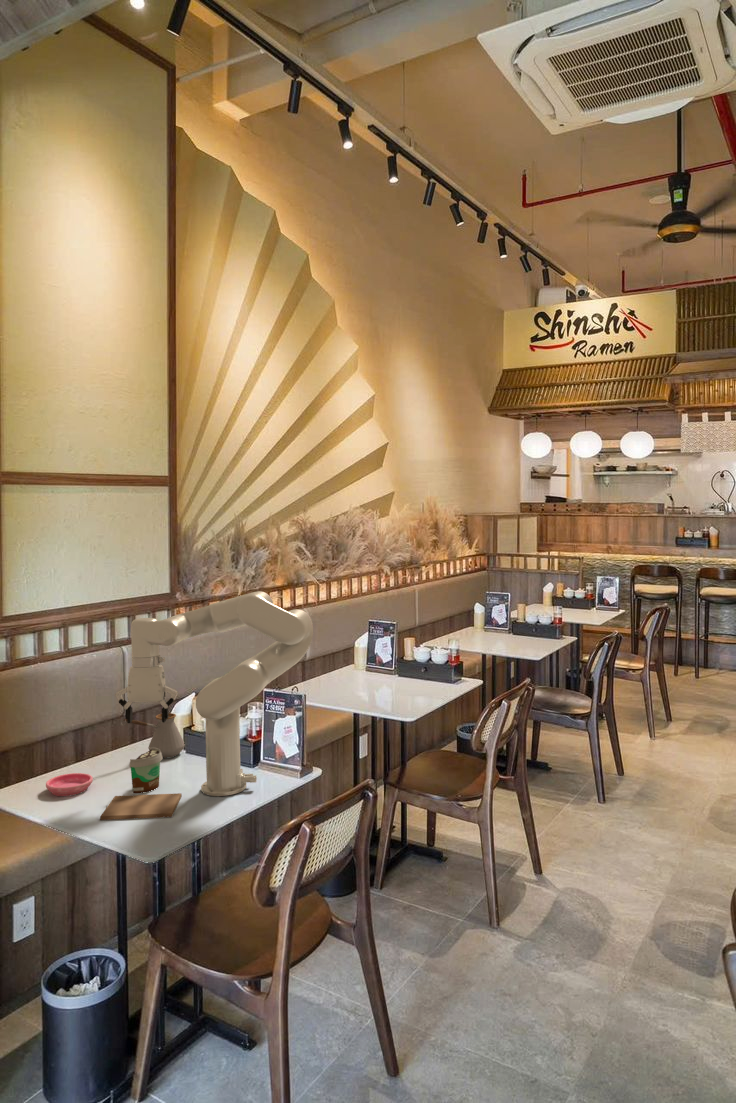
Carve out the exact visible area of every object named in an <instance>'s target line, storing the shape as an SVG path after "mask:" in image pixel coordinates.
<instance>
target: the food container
mask: <svg viewBox="0 0 736 1103" xmlns="http://www.w3.org/2000/svg"><path fill="white" fill-rule="evenodd" d="M163 759H164V758H163V757H162V753H161V752H160V750H159V749H158V748H154V747H150V749H148V751H146V752H145V753H141V754H140V755H139V756H138V757H136V758H135V759H132V758H131V759H130V760H129V765H128V766H129V768H130V774H131V787H132V793H133V794H144V793H143V792H146V793H150V792H152V791H151V790H153V791H155V790H157V789H159V787H160V775H161V774H160V770H161V761H162V760H163ZM156 788H157V789H156ZM154 789H155V790H154ZM149 791H150V792H149Z"/></svg>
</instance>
